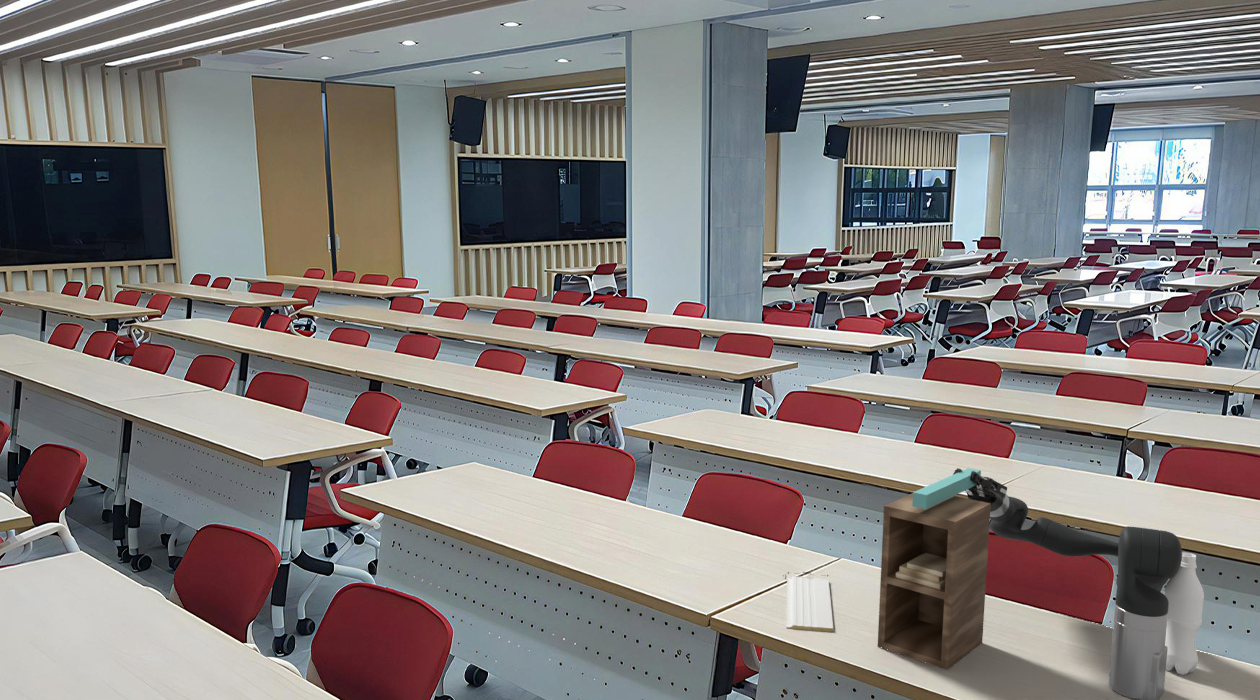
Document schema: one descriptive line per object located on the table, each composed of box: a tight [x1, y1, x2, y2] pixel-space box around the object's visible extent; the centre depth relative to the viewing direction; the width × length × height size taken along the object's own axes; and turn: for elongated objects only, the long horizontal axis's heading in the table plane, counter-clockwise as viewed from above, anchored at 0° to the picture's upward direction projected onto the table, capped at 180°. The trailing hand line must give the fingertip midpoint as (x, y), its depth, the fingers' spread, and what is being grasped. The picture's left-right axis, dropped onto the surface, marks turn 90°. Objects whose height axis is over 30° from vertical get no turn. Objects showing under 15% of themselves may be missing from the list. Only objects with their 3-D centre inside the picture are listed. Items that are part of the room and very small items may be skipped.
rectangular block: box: [912, 467, 982, 509], centre depth 208 cm, size 3×28×3 cm, turn 137°
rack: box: [877, 492, 991, 671], centre depth 207 cm, size 16×18×32 cm
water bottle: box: [1164, 551, 1205, 675], centre depth 197 cm, size 7×7×25 cm
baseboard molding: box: [782, 571, 834, 633], centre depth 232 cm, size 31×3×12 cm
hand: (964, 474), depth 214 cm, fingers closed on rectangular block, 3 cm apart
